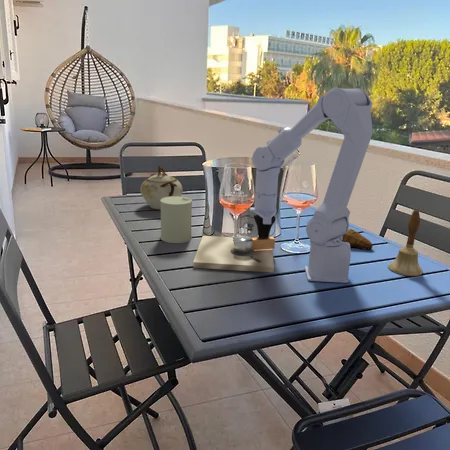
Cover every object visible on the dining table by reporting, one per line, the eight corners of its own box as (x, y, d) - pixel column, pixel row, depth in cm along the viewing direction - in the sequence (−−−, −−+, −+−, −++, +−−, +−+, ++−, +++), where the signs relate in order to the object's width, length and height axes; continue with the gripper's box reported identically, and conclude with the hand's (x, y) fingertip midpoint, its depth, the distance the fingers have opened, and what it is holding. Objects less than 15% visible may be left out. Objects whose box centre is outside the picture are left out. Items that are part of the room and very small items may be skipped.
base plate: (271, 244, 131) (271, 238, 130) (273, 272, 112) (273, 266, 111) (202, 240, 132) (202, 234, 131) (193, 267, 113) (193, 261, 112)
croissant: (323, 242, 135) (325, 226, 133) (334, 236, 140) (336, 221, 138) (366, 254, 127) (368, 237, 125) (376, 248, 132) (378, 232, 130)
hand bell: (424, 268, 118) (435, 209, 113) (419, 279, 111) (431, 217, 106) (391, 261, 122) (401, 203, 117) (385, 271, 115) (394, 211, 110)
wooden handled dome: (236, 254, 117) (236, 242, 116) (231, 247, 122) (231, 236, 121) (276, 251, 120) (277, 240, 119) (269, 245, 124) (270, 234, 123)
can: (195, 241, 131) (196, 201, 127) (164, 244, 128) (164, 203, 124) (186, 231, 139) (186, 193, 135) (157, 234, 136) (156, 195, 132)
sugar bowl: (132, 202, 169) (131, 162, 164) (169, 198, 176) (169, 160, 171) (152, 216, 153) (152, 172, 148) (192, 211, 160) (192, 169, 155)
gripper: (249, 185, 125) (246, 232, 129) (252, 199, 111) (249, 250, 116) (274, 186, 125) (271, 233, 130) (281, 200, 112) (277, 251, 116)
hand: (262, 241), depth 123 cm, fingers closed, pressing on wooden handled dome
